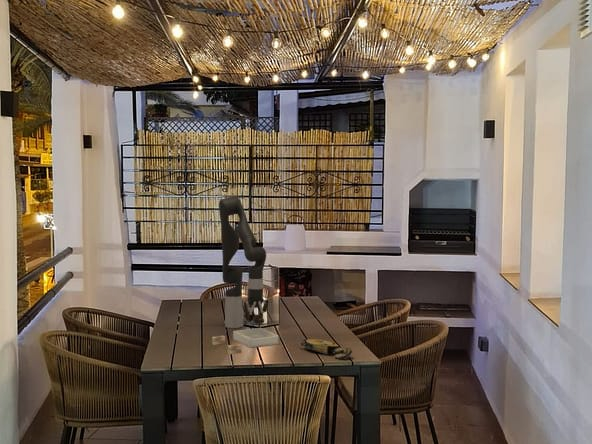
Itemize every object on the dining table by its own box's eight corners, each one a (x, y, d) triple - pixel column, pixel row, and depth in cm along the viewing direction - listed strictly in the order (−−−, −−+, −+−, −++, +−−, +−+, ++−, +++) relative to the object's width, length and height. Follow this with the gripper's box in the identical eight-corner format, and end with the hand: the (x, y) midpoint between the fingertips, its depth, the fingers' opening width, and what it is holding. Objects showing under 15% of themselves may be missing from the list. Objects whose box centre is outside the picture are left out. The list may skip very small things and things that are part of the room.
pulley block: (337, 348, 265) (297, 335, 290) (335, 361, 265) (296, 347, 290) (361, 348, 273) (320, 335, 298) (359, 361, 273) (319, 347, 298)
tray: (260, 335, 315) (260, 327, 314) (279, 344, 297) (279, 336, 297) (232, 338, 307) (232, 331, 307) (250, 348, 289) (250, 339, 289)
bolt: (260, 329, 295) (247, 322, 308) (268, 323, 297) (255, 316, 310) (254, 319, 293) (242, 312, 306) (263, 313, 295) (250, 307, 308)
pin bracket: (223, 342, 299) (223, 335, 299) (241, 352, 281) (241, 345, 281) (212, 344, 296) (212, 336, 296) (229, 354, 278) (229, 346, 278)
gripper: (265, 285, 307) (264, 318, 308) (239, 287, 300) (239, 321, 301) (271, 287, 301) (271, 321, 302) (245, 289, 294) (245, 324, 294)
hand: (255, 321), depth 301 cm, fingers closed on bolt, 5 cm apart
